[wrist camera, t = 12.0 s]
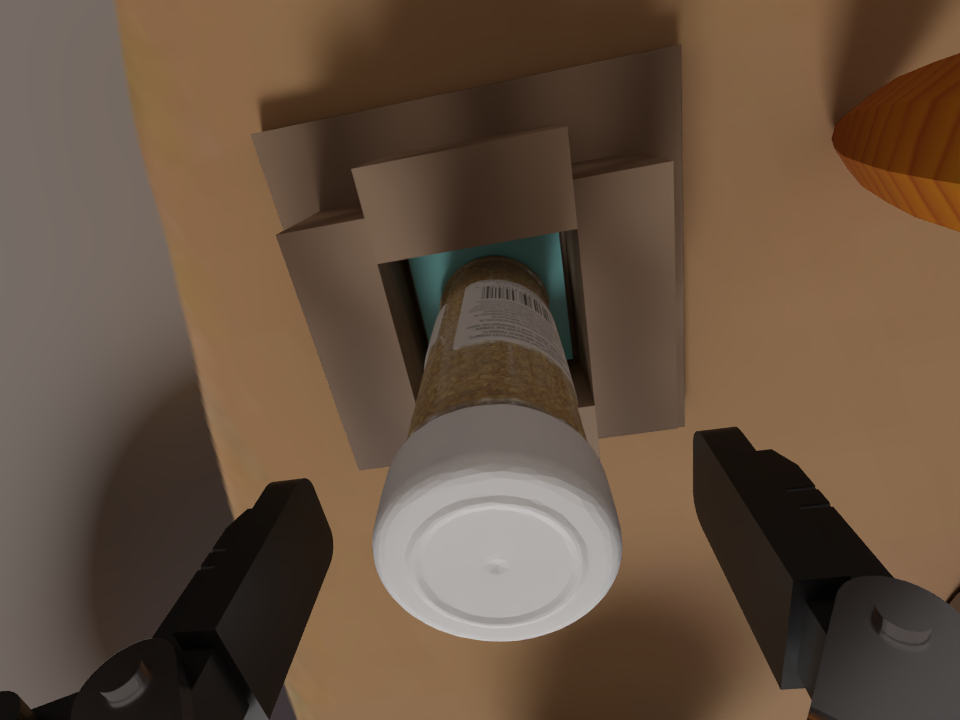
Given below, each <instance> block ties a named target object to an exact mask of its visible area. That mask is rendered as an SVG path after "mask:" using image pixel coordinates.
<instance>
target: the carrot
mask: <svg viewBox="0 0 960 720" xmlns="http://www.w3.org/2000/svg"><path fill="white" fill-rule="evenodd" d="M832 142H833V145H834V148H835V150H836V151H837V153H838V155H839V156H840V158H841V159H842V161H843V162H844V164H845V165H846V167H847V169H848V170H849V171H850V172H851V173H852V175H853V176H854V177H855V178H856V179H857V181H858V182H859V183H860V184H861V185H862V186H863V187H864V188H866V189H867V190H869V191H870V192H872V193H874V194H875V195H877V196H878V197H880V198H881V199H883V200H884V201H886V202H888V203H890V204H892V205H893V206H895V207H897V208H899V209H901V210H903V211H905V212H906V213H908V214H910V215H912V216H914V217H917V218H920V219H923V220H926V221H929V222H932V223H935V224H938V225H941V226H944V227H947V228H950V229H953V230H956V231H959V232H960V53H959V54H956V55H953V56H951V57H948V58H945V59H942V60H939V61H936V62H933V63H931V64H929V65H926V66H924V67H921V68H919V69H916V70H914V71H912V72H909V73H907V74H904V75H902V76H899V77H897V78H895V79H894V80H892V81H891V82H889V83H888V84H886V85H885V86H883V87H882V88H880V89H879V90H877V91H876V92H874V93H873V94H871V95H870V96H868V97H867V98H866V99H865V100H863V101H862V102H861V103H860V104H859V105H857V106H856V107H855V108H854V109H852V110H851V111H850V112H849V113H848V114H846V115H845V116H844V117H843V118H842V119H841V120H840V121H839V122H838V123H837V124H836V125H835V129H834V132H833V136H832Z"/></svg>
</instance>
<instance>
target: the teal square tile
mask: <svg viewBox="0 0 960 720" xmlns="http://www.w3.org/2000/svg"><path fill="white" fill-rule="evenodd" d="M488 256H503V257H508V258H512V259H515V260H518V261H519V262H520V263H522V264H525V265H527V266H528V267H529V268H530V269H531V270H532V271H534V272H535V273H536V274H537V275H538V276H539V278H540V279H541V280H542V282H543V284H544V286H545V287H546V290H547V293H548V297H549V301H550V302H549V308H550V313H551V314H552V316H553V319H554V321H555V325H556V328H557V331H558V334H559V337H560V340H561V344H562V347H563V350H564V354H565V357H566V360H569V359H573V354H572V345H571V336H570V328H569V319H568V310H567V301H566V293H565V284H564V275H563V266H562V258H561V249H560V240H559V232H557V233H551V234H546V235H540V236H534V237H529V238H523V239H517V240H511V241H506V242H500V243H494V244H489V245H483V246H477V247H472V248H466V249H460V250H455V251H449V252H443V253H438V254H432V255H426V256H421V257H415V258H409V264H410V268H411V272H412V276H413V280H414V284H415V288H416V292H417V296H418V300H419V304H420V308H421V312H422V316H423V320H424V324H425V328H426V332H427V336H428V341H429V342H430V339H431V335H432V332H433V328H434V325H435V321H436V319H437V316H438V314H439V312H440V310H439V307H440V299H441V296H442V293H443V291H444V288H445V285H446V283H447V282H448V280H449V279H450V277H451V276H452V275H453V273H454V272H455V271H456V270H457V269H458V268H460V267H461V266H463V265H465V264H467V263H469V262H471V261H473V260H474V259H477V258H482V257H488Z"/></svg>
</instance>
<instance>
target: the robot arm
mask: <svg viewBox="0 0 960 720" xmlns="http://www.w3.org/2000/svg"><path fill="white" fill-rule="evenodd" d="M693 496H694V504H695V508H696V513H697V516H698V519H699V522H700V524H701V527H702V529H703V531H704V533H705V535H706V537H707V539H708V541H709V543H710V545H711V547H712V549H713V551H714V553H715V555H716V557H717V560H718V562H719V564H720V566H721V568H722V570H723V572H724V574H725V576H726V578H727V580H728V582H729V584H730V586H731V588H732V590H733V592H734V594H735V597H736V599H737V601H738V603H739V605H740V607H741V609H742V611H743V613H744V615H745V617H746V619H747V621H748V623H749V625H750V627H751V629H752V632H753V634H754V636H755V638H756V640H757V642H758V644H759V646H760V648H761V650H762V652H763V654H764V656H765V658H766V660H767V662H768V664H769V666H770V669H771V671H772V673H773V675H774V677H775V679H776V681H777V683H778V685H779V687H780V689H781V690H782V689H798V688H806V690H807V692H808V694H809V696H810V698H811V700H812V701H811V706H810V710H809V714H808V718H807V720H960V592H959V593H958V594H957V595H956V596H955V597H954V599H953V600H952V601H951V602H950V604H948V603H946V602H945V601H944V600H942V599H941V598H940V597H938V596H936V595H935V594H933V593H931V592H930V591H928V590H926V589H923V588H921V587H919V586H917V585H915V584H912V583H909V582H907V581H903V580H900V579H896V578H894V577H893V576H892V575H891V574H890V573H889V572H888V571H887V569H886V568H885V567H884V566H883V565H882V563H881V562H880V561H879V560H878V559H877V558H876V556H875V555H874V554H873V553H872V552H871V551H870V549H869V548H868V547H867V546H866V545H865V544H864V542H863V541H862V540H861V539H860V538H859V536H858V535H857V534H856V533H855V532H854V531H853V529H852V528H851V527H850V526H849V525H848V524H847V522H846V521H845V520H844V519H843V518H842V516H841V515H840V514H839V513H838V512H837V511H836V509H835V508H834V507H831V506H830V502H829V501H828V500H827V499H826V498H825V497H824V495H823V494H822V493H821V492H820V491H819V489H817V490H816V488H815V485H814V484H813V482H812V481H811V480H810V479H809V478H808V477H807V475H806V474H805V473H804V472H803V471H802V469H801V468H800V467H799V466H798V465H797V464H795V463H794V462H792V461H790V460H789V459H787V458H785V457H784V456H782V455H780V454H779V453H777V452H775V451H774V450H772V449H770V450H761V451H756V450H755V449H754V447H753V446H752V445H751V443H750V442H749V441H748V439H747V438H746V437H745V435H744V434H743V433H742V432H741V430H740V429H739V428H737V427H729V428H721V429H713V430H704V431H696V432H695V434H694V438H693ZM332 555H333V537H332V532H331V529H330V527H329V524H328V522H327V519H326V517H325V514H324V512H323V509H322V507H321V504H320V502H319V499H318V497H317V494H316V492H315V489H314V487H313V485H312V483H311V482H310V481H309V480H308V479H306V478H302V479H294V480H286V481H278V482H271V483H269V484H268V485H267V487H266V488H265V489H264V491H263V493H262V494H261V496H260V497H259V499H258V500H257V502H256V503H255V505H254V506H253V508H252V509H247V510H246V511H245V512H244V513H243V514H241V515H240V516H239V517H238V518H237V519H236V520H235V521H234V522H232V523H231V524H230V525H229V526H228V527H227V528H226V529H225V531H224V532H223V534H222V536H221V537H220V538H219V540H218V541H217V543H216V544H215V546H214V547H213V552H212V553H209V554H208V556H207V558H206V559H205V560H204V562H203V563H202V565H201V570H198V571H197V572H196V574H195V575H194V577H193V578H192V579H191V581H190V583H189V584H188V585H187V587H186V589H185V590H184V591H183V593H182V594H181V596H180V597H179V599H178V600H177V602H176V603H175V605H174V606H173V608H172V609H171V611H170V612H169V614H168V615H167V617H166V618H165V619H164V621H163V622H162V624H161V625H160V627H159V628H158V630H157V631H156V633H155V634H154V636H153V637H152V638H151V639H146V640H142V641H139V642H137V643H134V644H132V645H130V646H128V647H126V648H124V649H123V650H121V651H119V652H118V653H116V654H115V655H113V656H112V657H111V658H109V659H108V660H107V661H105V662H104V663H103V664H102V665H101V666H100V667H99V668H98V669H97V670H96V671H95V672H94V673H93V674H92V675H91V676H90V677H89V678H88V679H87V681H86V682H85V683H84V685H83V686H82V687H81V689H80V691H79V692H77V693H74V694H71V695H69V696H66V697H63V698H61V699H58V700H55V701H53V702H50V703H47V704H45V705H42V706H39V707H37V708H34V709H30V708H29V707H28V706H27V704H26V703H25V702H24V701H23V700H22V699H21V698H20V697H19V696H18V695H17V694H16V693H14V692H11V691H1V692H0V720H269V719H270V717H271V714H272V711H273V709H274V706H275V704H276V701H277V699H278V696H279V694H280V691H281V688H282V686H283V683H284V681H285V678H286V676H287V673H288V670H289V668H290V665H291V663H292V660H293V658H294V655H295V652H296V650H297V647H298V645H299V642H300V640H301V637H302V635H303V632H304V629H305V627H306V624H307V622H308V619H309V617H310V614H311V611H312V609H313V606H314V604H315V601H316V599H317V596H318V593H319V591H320V588H321V586H322V583H323V581H324V578H325V576H326V573H327V570H328V568H329V565H330V563H331V559H332Z"/></svg>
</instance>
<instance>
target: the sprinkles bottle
mask: <svg viewBox="0 0 960 720" xmlns="http://www.w3.org/2000/svg"><path fill="white" fill-rule="evenodd" d="M549 302H550V301H549V297H548V293H547V290H546V287H545V286H544V284H543V282H542V280H541V279H540V278H539V276H538V275H537V274H536V273H535V272H534V271H532V270H531V269H530V268H529V267H528V266H527V265H525V264H522V263H520V262H519V261H518V260H515V259H512V258H508V257H503V256H488V257H482V258H477V259H474V260H473V261H471V262H469V263H467V264H465V265H463V266H461V267H460V268H458V269H457V270H456V271H455V272H454V273H453V275H452V276H451V277H450V279H449V280H448V282H447V283H446V285H445V288H444V291H443V293H442V296H441V299H440V307H439V310H440V312H439V314H438V316H437V319H436V321H435V325H434V328H433V332H432V335H431V339H430V342H429V347H428V350H427V354H426V359H425V366H424V374H423V377H422V381H421V384H420V389H419V393H418V396H417V400H416V403H415V408H414V413H413V415H412V418H411V424H410V428H409V433H408V438H407V440H406V441H405V443H404V444H403V445H402V446H401V448H400V449H399V450H398V452H397V454H396V455H395V457H394V459H393V461H392V463H391V465H390V468H389V471H388V474H387V477H386V481H385V484H384V488H383V491H382V495H381V499H380V504H379V508H378V512H377V516H376V521H375V526H374V530H373V539H372V547H373V556H374V562H375V565H376V569H377V572H378V574H379V576H380V579H381V581H382V582H383V584H384V586H385V587H386V589H387V591H388V592H389V593H390V594H391V596H392V597H393V598H394V599H395V600H396V601H397V602H398V603H399V604H400V605H401V606H402V607H403V608H404V609H405V610H406V611H407V612H409V613H410V614H411V615H413V616H414V617H416V618H418V619H419V620H421V621H422V622H424V623H426V624H427V625H429V626H431V627H434V628H436V629H438V630H440V631H443V632H446V633H449V634H452V635H456V636H459V637H464V638H470V639H476V640H483V641H517V640H524V639H529V638H534V637H538V636H542V635H545V634H548V633H551V632H554V631H557V630H559V629H561V628H564V627H566V626H568V625H570V624H572V623H573V622H575V621H576V620H578V619H579V618H581V617H582V616H584V615H585V614H587V613H588V612H589V611H590V610H592V609H593V608H594V607H595V606H596V605H597V604H598V603H599V602H600V601H601V600H602V598H603V597H604V596H605V595H606V593H607V592H608V590H609V589H610V587H611V586H612V584H613V582H614V580H615V578H616V576H617V574H618V571H619V567H620V562H621V558H622V537H621V528H620V524H619V520H618V516H617V512H616V508H615V504H614V501H613V497H612V494H611V491H610V487H609V484H608V481H607V478H606V475H605V471H604V469H603V466H602V464H601V462H600V460H599V458H598V456H597V455H596V453H595V451H594V449H593V448H592V447H591V446H590V444H589V443H588V441H587V440H586V435H585V432H584V428H583V426H582V421H581V417H580V414H579V410H578V400H577V395H576V392H575V388H574V385H573V381H572V378H571V374H570V371H569V367H568V364H567V361H566V357H565V354H564V350H563V347H562V344H561V340H560V337H559V334H558V331H557V328H556V325H555V321H554V319H553V316H552V314H551V313H550V308H549Z"/></svg>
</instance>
